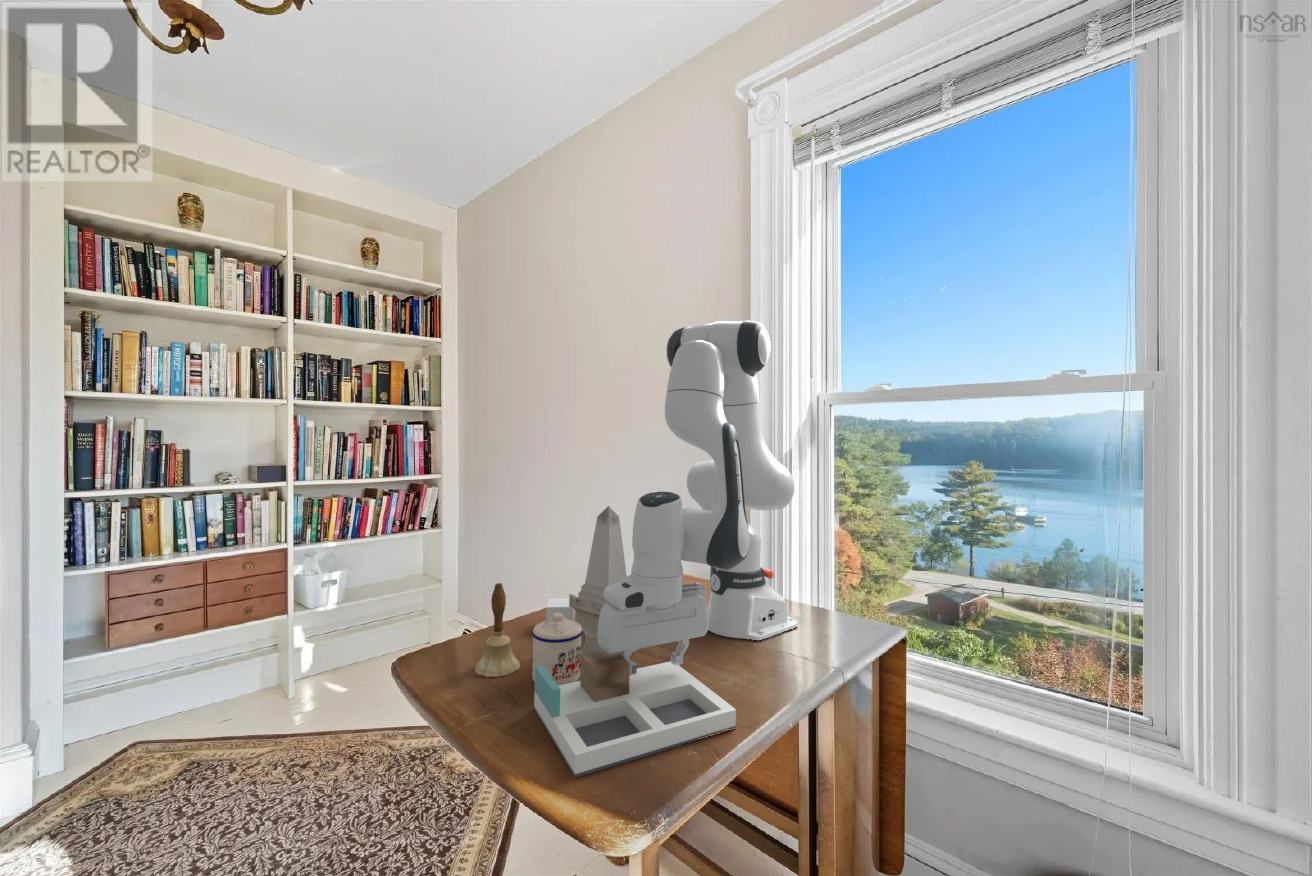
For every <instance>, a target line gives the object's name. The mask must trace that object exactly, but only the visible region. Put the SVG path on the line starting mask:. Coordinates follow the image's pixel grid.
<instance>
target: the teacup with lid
mask: <svg viewBox="0 0 1312 876" xmlns="http://www.w3.org/2000/svg"><path fill="white" fill-rule="evenodd" d="M531 635H532V637H533V638H532V640H533V641H532V677H531V678H532V681H533V682H534V683H535V666H537V665H543V666H544V667H545V669H546V670H547V671H548V673H549V674H550V676H551V677H552V678H553V680H554V681H555V682H556V684H557V685H563V684H567V683H572V682H577V681H579V679H581V653H582V652H583V651H584V649H585V646H586V643H587V633H586V631H585V630H583V629H582V627H581V625H580V624H579V623H577V622H576V620H574V621H572V620H569V619H566V618H564V615H563V614H562V613H555V614H553V618H551V619H549V620H547V621H546V620H544V621H541V622H540V623H537V624H535V626H534V628H533V629H532V632H531Z"/></svg>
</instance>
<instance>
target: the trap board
mask: <svg viewBox="0 0 1312 876" xmlns="http://www.w3.org/2000/svg"><path fill="white" fill-rule="evenodd" d="M636 671H637V673H636V674H634V675H630V677H629V694H626V695H622V696H618V697H614V698H610V699H606V700H601V701H597V702H594V701H593V700H592V699H591V698H590V696H589V695H588V694H587V693H586V692H585V690H584V689H583V688H582V687H581V686H580V681H581V680H578V681H576V682H572V683H567V684H563V685H557V684H556V682H555V681H554V680H553V678H552V677H551V676H550V674H549V673H548V671H547V670H546V669H545V667H544V666H543V665H537V666H535V682H534V694H533V695H534V696H533V697H534V698H533V699H534V701H533V704H534V705H533V710H534V712H535V713H536V715H537V717H538V718H539V720H540V722H541V723H542V725H543V727H544V728H545V730H546V731H547V734H548V735H549V737H550V739H551V740H552V742H553V744H554V745H555V747H556V748H557V750H558V752H559V753H560V756H561V757H562V759H563V760H564V762H565V763H566V765H567V767H568V769H569V771H570V772H571V774H572V776H573V777H574V778H575V779H577V778H580V777H584V776H586V775H587V776H588V775H589V774H592V773H593V774H594V773H597V772H600V771H603V770H605V769H610V768H612V767H616V766H619V765H622V764H626V763H629V762H632V761H635V760H638V759H642V758H645V757H649V756H651V755H655V754H658V753H662V752H664V751H668V750H671V748H672V749H676V748H678V747H681V746H684V745H683V744H685V743H688V744H691V743H693V742H692V741H694V740H696V739H698V738H702V737H705V736H708V735H711V734H716V733H718V732H721V731H723V730H726V729H732V728H735V727H736V721H737V720H736V719H737V709H736V708H735V707H733V706H732V705H731V704H730V703H728V702H727V701H726V700H724V699H723V698H722V697H721V696H719V694H717V693H715V692H714V691H713V690H711V689H710V688H709V687H708V686H706V685H705V684H704V683H702V682H701V681H700V680H698V679H697V678H696V677H695V676H693V675H692V674H691V673H690V672H688V671H686V670H685V669H684V668H683V667H681V666H680V665H674V664H672V663H671V660H670V661H666V662H661V663H657V664H652V665H648V666H644V667H639V668H638V667H637V669H636ZM736 728H737V727H736ZM690 742H691V743H690ZM694 742H695V741H694ZM685 745H686V744H685Z"/></svg>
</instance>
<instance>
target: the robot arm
mask: <svg viewBox="0 0 1312 876" xmlns="http://www.w3.org/2000/svg"><path fill="white" fill-rule="evenodd" d="M770 352H771V340H770V335H769V333H768V330H767V328H766V327H765V326H764V325H763V324H762V322H759V321H757V320H756V321H755V320H743V321H730V320H729V321H715V322H712V323H706V324H699V325H695V326H690V325H689V326H685V327H681V328H679V329H676V330H674V331H673V333H672V334H671V335H670V337H669V339H668V340H667V344H666V358H667V361H668V364H669V366H670V371H669V375H668V382H667V386H666V393H665V402H664V403H665V404H664V417H665V420H664V421H665V423H666V425H667V426H668V428H669V430H670V431H671V433H673V434H674V435H675V436H676V437H678V439H680V440H682V441H684V442H685V443H688V444H690V445H692V446H694V447H696V448H698V449H700V450H702V451H703V452H706V453H707V454H708V455H709V456H710V457H711V459H709V460H703V461H698V462H697V461H696V462H695V463H694V464H693V465H692V466H691V468H690V470H688V473H687V478H686V489H687V492H688V493H689V496H690V497H691V498H692V500H693V501H695V502H696V504H698V505H699V507H700V508H701V509H699V508H698V509H697V508H692V507H686V506H684V505H683V502H682V497H681V496H680V495H678V494H677V493H674V492H671V491H655V492H649V493H645V494H643V495H642V496H640V497H639V498H638V500H637V502H636V503H637V504H636V506H635V511H634V516H633V524H632V539H631V540H632V541H631V546H632V551H633V561H632V565H631V574H630V575H628V576H627V577H626V578H624V579H622V580H620V581H618V582H616V583H614V584H612V585H609V586H607V587H606V588H605V589H604V598H605V599H606V600H607V601H608V602H606V603H605V604H604V605H603V607H602V609H601V611H600V616H599V623H598V633H597V641H598V644H599V646H600V647H601V648H602V649H603V650H604V651H605V652H606V653H608V654H613V653H619V654H620V655H621V656H622V657H623V658H624V659H626V660H627V661H628V662H629V663H630V675H634V674H636V673H637V671H636V669H638V664H637V663H636V662H634V660H631V659H630V657H632V654H633V653H632V650H634V649H637V650H638V649H645V648H649V647H654V646H659V645H665V644H668V643H675V642H677V645H676V648H675V649H674V651H672V652H670V661H671V663H672V664H674V665H679V666H680V665H683V664H684V655H685V653H686V651H687V649H688V647H689V646H690V639H695V638H700V637H705V636H706V635H707V633H708V631H710V632H711V633H713V634H715V635H719V636H723V637H727V638H733V639H734V638H735V639H744V640H745V639H746V640H749V639H752V640H751V641H754V640H762V639H764V638H768V637H770V636H772V635H775V634H778V633H781V632H783V631H784V630H786V629H791V628H793V627H795V626H797V625H798V622H797V621H796V619H795V618H793V617H792V616H790V615H788V614H789V613H788V607H787V606H788V605H787V602H786V599H785V598H784V597H783V596H782V595H781V594H779V593H778V592H777V591H776V590H775V589H773V588H772V587H771V586H770V584H767V581H766V578H767V579H770V580H771V579H774V577H775V572H774V570H772V569H769V568H765V569H764V568H762V567H761V552H762V551H761V549H762V548H761V547H762V540H761V536H760V533H759V532H758V530H757V529H756V528H755V527H754V526H752V525H751V524H749V523H748V518H747V514H746V513H747V512H746V510H755V511H774V510H775V511H776V510H784V508H786V507H787V506H788V505H789V504H790V502H791V501H792V500H793V497H794V494H795V481H794V478H793V475H792V473H791V472H790V470H789V469H788V468H787V467H786V466H785V465H783V464H782V463H780V461H778V459H776V458H775V456H774V455H773V454H772V452H771V451H770V449H769V447H768V445H767V444H766V441H765V437H764V436H763V430H762V421H761V411H760V410H761V408H760V391H759V383H758V378H757V374H758V373H759V372H760V371H762V370H763V369H764V367H765V366H766V365H767V363H768V361H769V357H770V355H771V354H770ZM683 561H684V562H690V563H695V564H703V565H707V566H709V567H710V571H709V572H710V573H709V585H710V594H709V601H708V604H707V600H708V590H707V589H706V587H705V586H704V585H703V584H701V583H700V582H693V583H683V579H684V578H683V575H684V567H683V565H682V562H683ZM790 620H792V621H790ZM798 626H799V625H798ZM781 634H782V633H781ZM770 638H771V637H770ZM768 639H769V638H768ZM762 641H763V640H762Z"/></svg>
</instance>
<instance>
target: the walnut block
mask: <svg viewBox="0 0 1312 876" xmlns="http://www.w3.org/2000/svg"><path fill="white" fill-rule="evenodd" d="M629 677H630V663H629V662H628V661H627V660H626V659H624V658H623V657H622V656H621V655H620V654H619V653H613V654H608V653H606V652H605V651H602V652H596V653H591V654H586V655H581V671H580V680H579V681H580V686H581V687H582V688H583V689H584V690H585V692H586V693H587V694H588V695H589V696H590V698H591V699H592V700H593V701H594V702H597V701H601V700H606V699H610V698H614V697H618V696H622V695H626V694H629Z"/></svg>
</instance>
